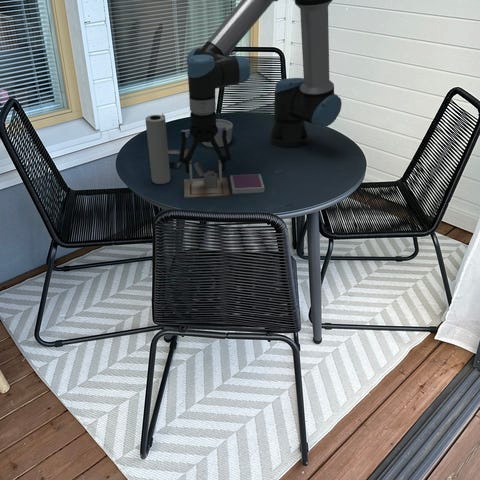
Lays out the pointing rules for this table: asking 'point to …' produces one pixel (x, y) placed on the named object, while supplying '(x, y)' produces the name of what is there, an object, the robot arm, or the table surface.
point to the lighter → (207, 177)
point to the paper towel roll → (158, 148)
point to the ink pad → (246, 184)
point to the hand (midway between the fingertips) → (206, 181)
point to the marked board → (200, 191)
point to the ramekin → (218, 138)
